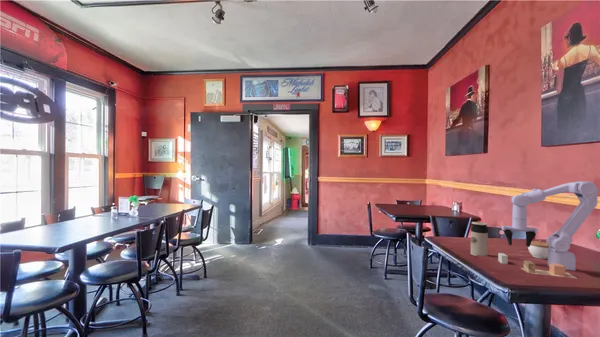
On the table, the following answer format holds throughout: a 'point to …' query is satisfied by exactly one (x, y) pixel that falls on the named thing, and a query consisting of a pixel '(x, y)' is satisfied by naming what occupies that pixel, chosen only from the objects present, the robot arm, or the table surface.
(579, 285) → the table surface
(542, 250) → the lidded jar
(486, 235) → the travel mug
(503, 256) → the white block
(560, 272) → the terracotta cube
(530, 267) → the birch strip
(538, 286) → the table surface
